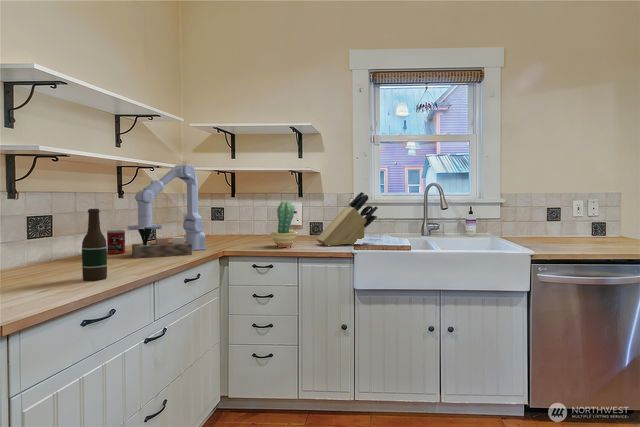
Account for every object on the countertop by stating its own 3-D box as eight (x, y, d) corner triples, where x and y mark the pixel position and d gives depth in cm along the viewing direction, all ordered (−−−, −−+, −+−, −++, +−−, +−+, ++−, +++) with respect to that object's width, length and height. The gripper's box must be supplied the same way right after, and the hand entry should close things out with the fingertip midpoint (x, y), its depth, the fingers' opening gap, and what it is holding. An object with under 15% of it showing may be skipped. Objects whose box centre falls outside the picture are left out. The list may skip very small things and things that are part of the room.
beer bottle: (112, 276, 145) (110, 208, 144) (101, 281, 138) (99, 209, 136) (89, 276, 145) (88, 208, 144) (77, 281, 137) (75, 209, 136)
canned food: (105, 254, 195) (105, 231, 195) (109, 252, 203) (109, 230, 202) (123, 254, 197) (123, 231, 197) (126, 251, 205) (126, 229, 204)
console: (186, 251, 208) (186, 241, 208) (191, 254, 197) (191, 243, 197) (132, 254, 197) (132, 243, 196) (134, 258, 185) (134, 246, 185)
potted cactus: (302, 247, 226) (302, 201, 224) (276, 249, 219) (276, 201, 217) (291, 244, 239) (291, 201, 238) (266, 245, 232) (266, 201, 231)
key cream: (182, 244, 204) (182, 236, 203) (184, 245, 199) (184, 237, 199) (172, 245, 201) (172, 236, 201) (173, 246, 197) (173, 237, 197)
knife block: (378, 244, 243) (379, 191, 242) (323, 246, 230) (323, 191, 229) (369, 242, 254) (370, 191, 252) (315, 244, 241) (316, 191, 239)
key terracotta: (166, 245, 200) (166, 237, 200) (168, 246, 196) (168, 238, 195) (155, 245, 198) (155, 237, 197) (157, 247, 193) (157, 238, 193)
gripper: (128, 216, 185) (128, 247, 186) (162, 216, 192) (162, 245, 193) (126, 216, 192) (127, 245, 192) (160, 215, 198) (160, 243, 199)
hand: (144, 245), depth 193 cm, fingers closed, pressing on key green
